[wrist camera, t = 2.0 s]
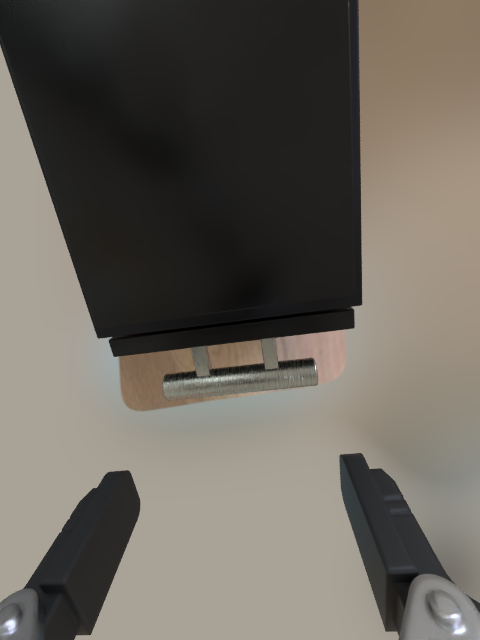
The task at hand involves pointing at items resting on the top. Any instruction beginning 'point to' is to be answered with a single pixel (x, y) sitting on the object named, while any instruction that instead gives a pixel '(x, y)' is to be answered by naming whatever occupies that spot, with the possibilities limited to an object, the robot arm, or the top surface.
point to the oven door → (200, 337)
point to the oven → (196, 152)
